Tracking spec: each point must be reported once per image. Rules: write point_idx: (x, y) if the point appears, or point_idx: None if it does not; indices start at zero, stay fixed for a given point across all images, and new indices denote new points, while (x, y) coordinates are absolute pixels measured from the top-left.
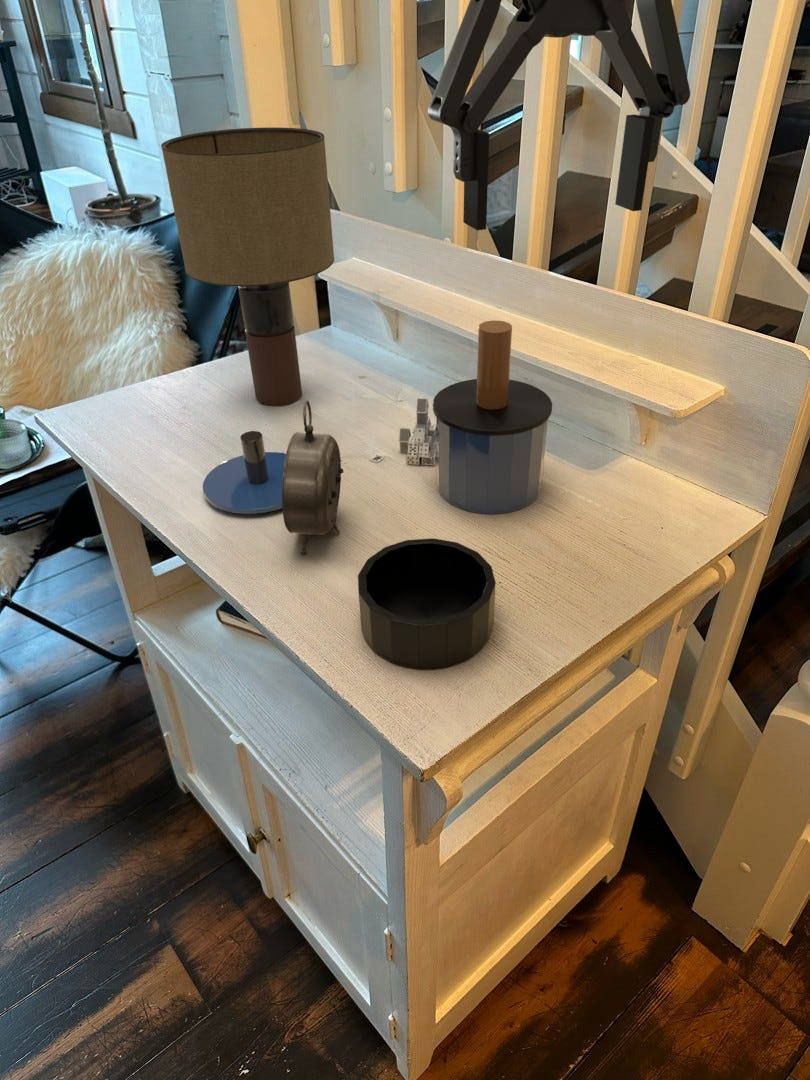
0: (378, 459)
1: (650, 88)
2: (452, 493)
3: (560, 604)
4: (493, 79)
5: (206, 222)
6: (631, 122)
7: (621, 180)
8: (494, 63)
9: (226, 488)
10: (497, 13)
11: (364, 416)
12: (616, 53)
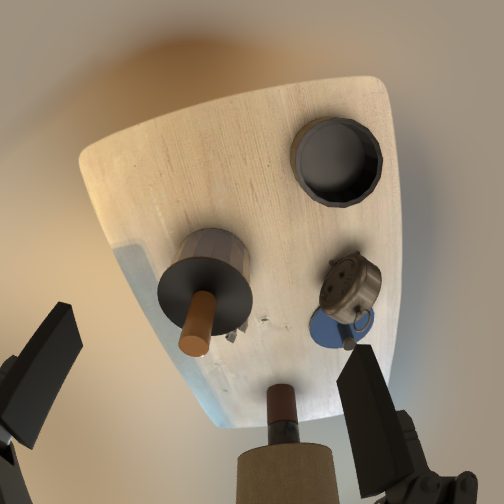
0: (264, 318)
1: None
2: (248, 258)
3: (245, 128)
4: None
5: (331, 478)
6: (26, 433)
7: (65, 366)
8: None
9: (361, 323)
10: None
11: (246, 359)
12: None
